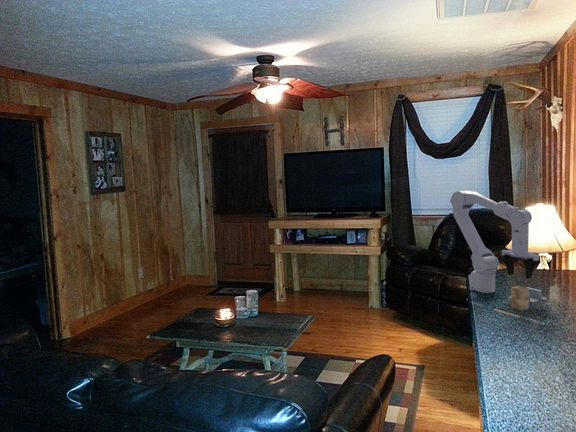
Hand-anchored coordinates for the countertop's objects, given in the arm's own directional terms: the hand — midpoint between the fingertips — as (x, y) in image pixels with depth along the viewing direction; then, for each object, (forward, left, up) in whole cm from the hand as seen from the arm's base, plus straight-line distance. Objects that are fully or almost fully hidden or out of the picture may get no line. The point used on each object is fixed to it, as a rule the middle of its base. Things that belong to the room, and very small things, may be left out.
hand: (519, 276), depth 175 cm
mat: (+9, -12, -9) cm, 18 cm away
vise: (+2, +2, -9) cm, 10 cm away
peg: (+9, -12, -9) cm, 17 cm away
